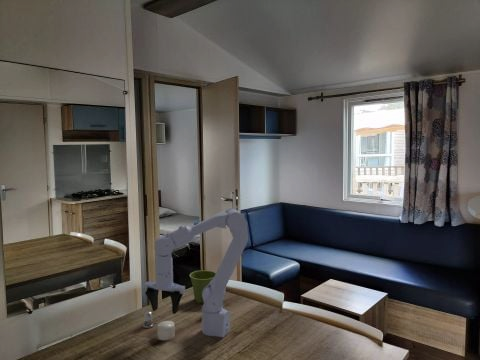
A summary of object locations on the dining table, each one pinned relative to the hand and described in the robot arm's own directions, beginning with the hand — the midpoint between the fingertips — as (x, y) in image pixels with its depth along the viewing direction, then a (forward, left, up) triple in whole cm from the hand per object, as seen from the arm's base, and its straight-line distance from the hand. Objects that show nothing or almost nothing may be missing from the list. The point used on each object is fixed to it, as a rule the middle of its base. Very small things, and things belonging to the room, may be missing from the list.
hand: (165, 311), depth 126 cm
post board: (+4, -2, -9) cm, 10 cm away
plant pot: (+3, -34, -10) cm, 35 cm away
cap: (0, 0, -8) cm, 8 cm away
